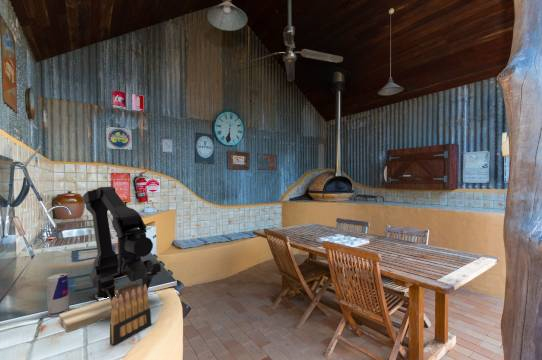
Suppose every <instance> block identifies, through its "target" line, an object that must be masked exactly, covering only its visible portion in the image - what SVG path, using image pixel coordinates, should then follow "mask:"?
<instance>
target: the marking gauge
mask: <svg viewBox="0 0 542 360" xmlns="http://www.w3.org/2000/svg"><path fill="white" fill-rule="evenodd" d="M139 287H140V288H141V291H142V299H143V284H141V283H139V282H134V283H132V284H129V285H125V286H122V287H118V288H117V289H115V295H116V296H118V300H119V296H120V294H121V295H122V297H123V304H124V307H125V295H126V292H128V293H129V297H130V305H131V293H132V290H133V289H134V290H135V294H136V302H137V291H138V288H139Z"/></svg>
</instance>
